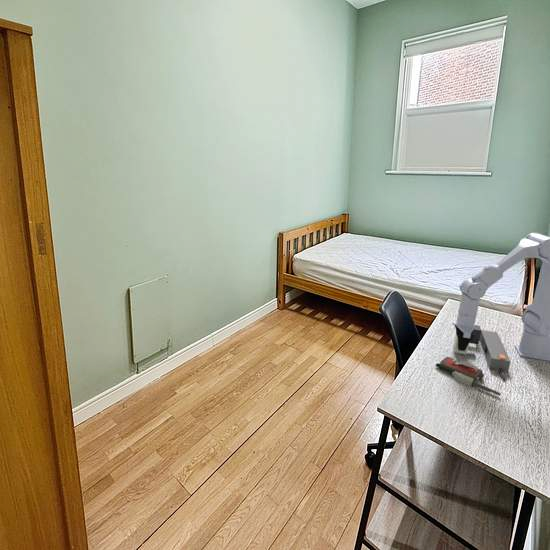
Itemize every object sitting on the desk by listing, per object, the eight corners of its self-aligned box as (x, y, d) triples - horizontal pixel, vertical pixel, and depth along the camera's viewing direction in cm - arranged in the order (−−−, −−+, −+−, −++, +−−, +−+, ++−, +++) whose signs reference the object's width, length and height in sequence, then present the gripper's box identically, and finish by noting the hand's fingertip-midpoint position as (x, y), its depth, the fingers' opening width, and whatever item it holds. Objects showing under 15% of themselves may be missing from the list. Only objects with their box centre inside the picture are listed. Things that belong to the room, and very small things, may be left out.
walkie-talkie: (431, 370, 119) (498, 400, 105) (433, 359, 118) (501, 387, 104) (443, 361, 125) (508, 388, 110) (445, 350, 123) (511, 376, 109)
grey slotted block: (495, 341, 138) (498, 327, 136) (512, 382, 113) (516, 365, 111) (465, 336, 141) (467, 323, 139) (475, 375, 116) (478, 358, 114)
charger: (473, 350, 131) (476, 336, 129) (475, 356, 127) (478, 341, 125) (453, 346, 133) (456, 332, 131) (454, 352, 129) (457, 338, 127)
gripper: (453, 303, 134) (447, 336, 138) (457, 319, 121) (450, 354, 125) (474, 306, 131) (467, 339, 135) (480, 322, 118) (472, 358, 123)
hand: (460, 346), depth 130 cm, fingers closed on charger, 4 cm apart
